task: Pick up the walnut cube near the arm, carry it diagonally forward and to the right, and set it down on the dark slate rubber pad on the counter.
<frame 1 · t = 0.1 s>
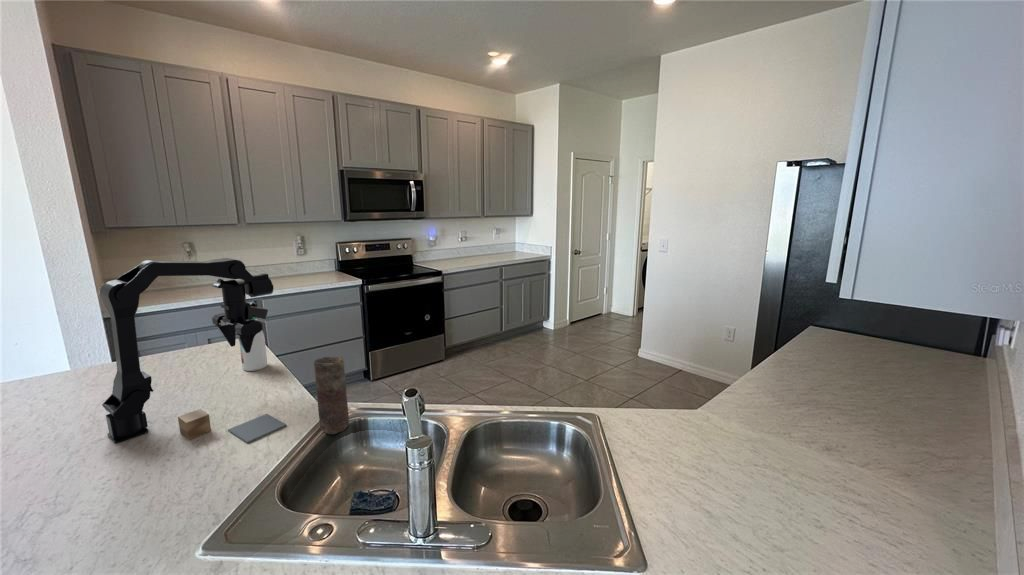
hand: (240, 349, 126), 15 cm above the worktop, fingers open, 9 cm apart
milk bottle: (255, 367, 148), on the worktop
slate pad: (257, 428, 110), on the worktop
candle: (334, 428, 112), on the worktop
walnut cube: (196, 432, 107), on the worktop
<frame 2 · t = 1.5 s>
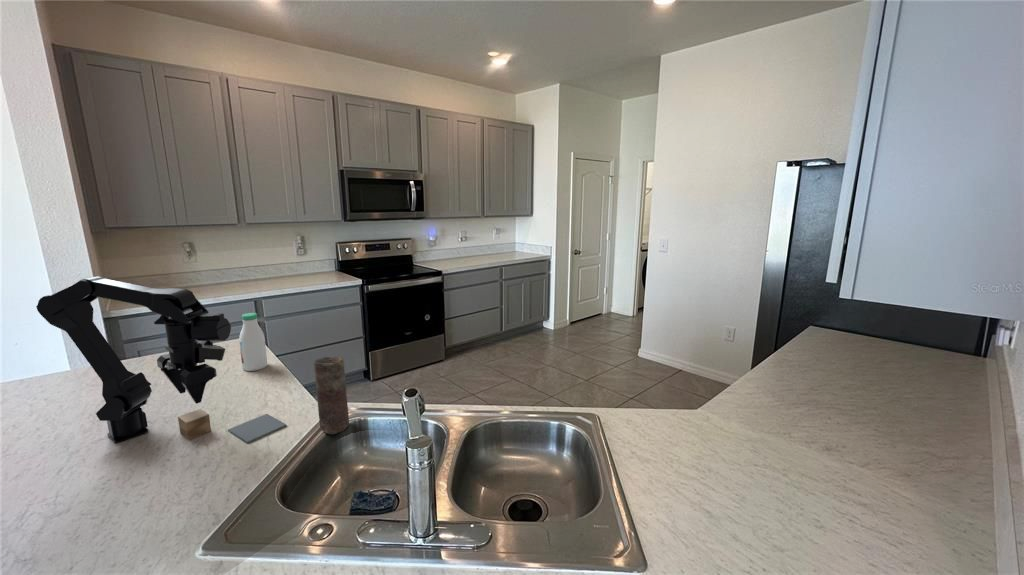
hand: (190, 397, 105), 10 cm above the worktop, fingers open, 9 cm apart
nothing on the worktop moved.
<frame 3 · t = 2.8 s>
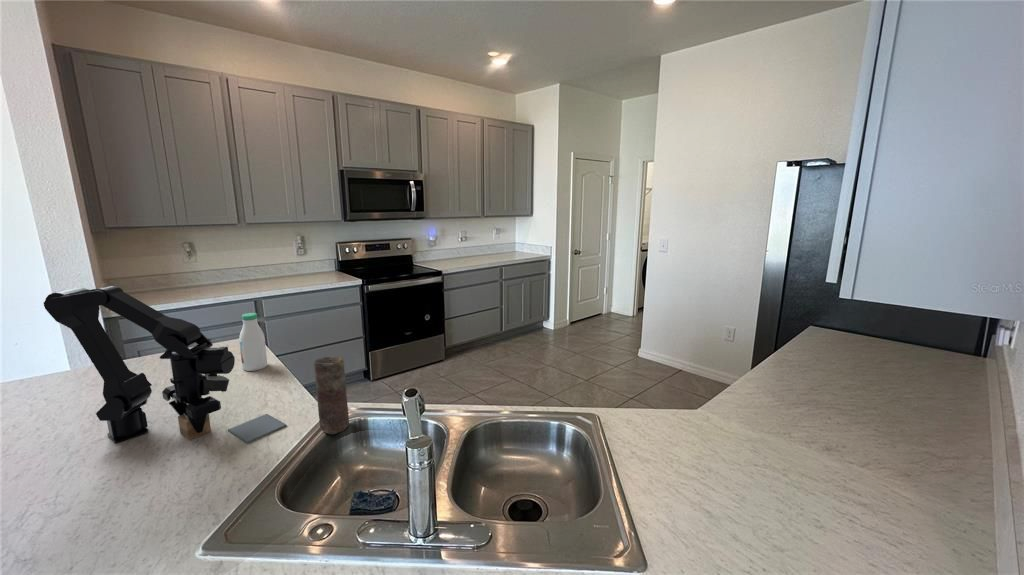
hand: (195, 428, 107), 1 cm above the worktop, fingers closed on walnut cube, 5 cm apart
walnut cube: (195, 432, 107), on the worktop, touching gripper
everything else where it was.
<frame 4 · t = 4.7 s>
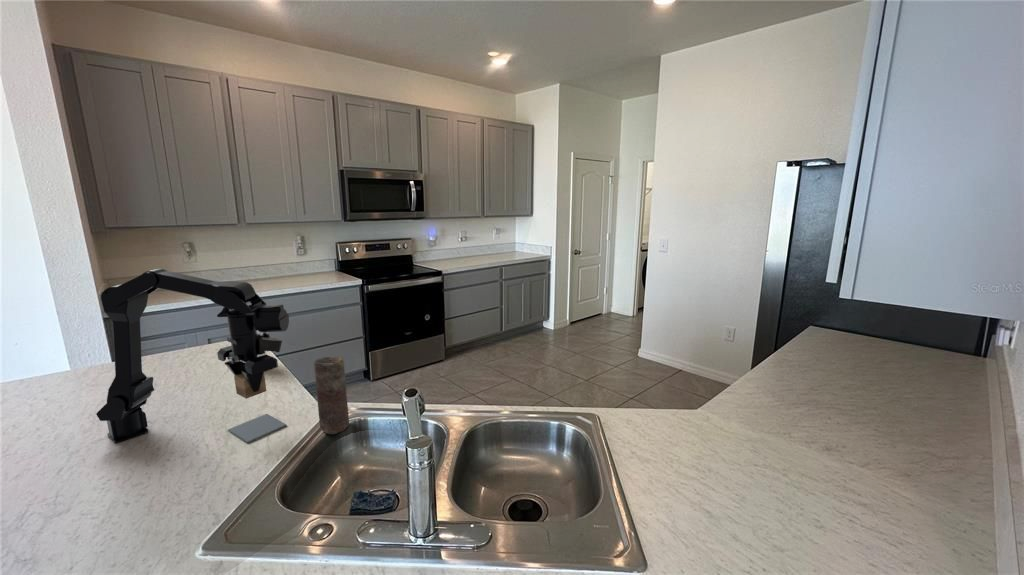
hand: (251, 388, 107), 12 cm above the worktop, fingers closed on walnut cube, 5 cm apart
walnut cube: (251, 392, 108), point 11 cm above the worktop, touching gripper
everything else where it was.
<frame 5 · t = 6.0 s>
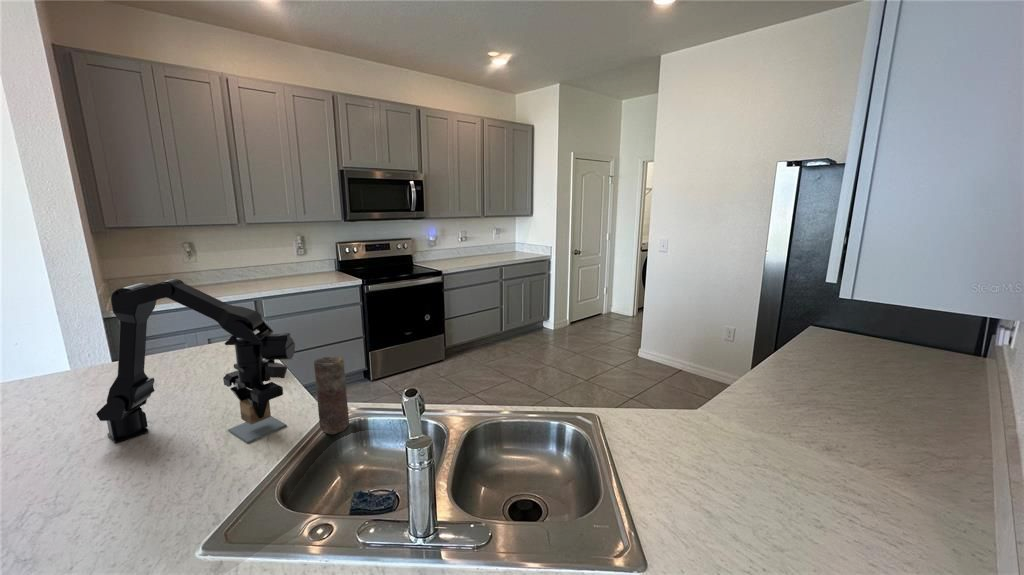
hand: (255, 414, 109), 4 cm above the worktop, fingers closed on walnut cube, 5 cm apart
walnut cube: (256, 417, 109), point 3 cm above the worktop, touching gripper
everything else where it was.
when the fingers open (2 cm above the worktop, at t = 6.8 s): walnut cube stays where it is, resting on slate pad.
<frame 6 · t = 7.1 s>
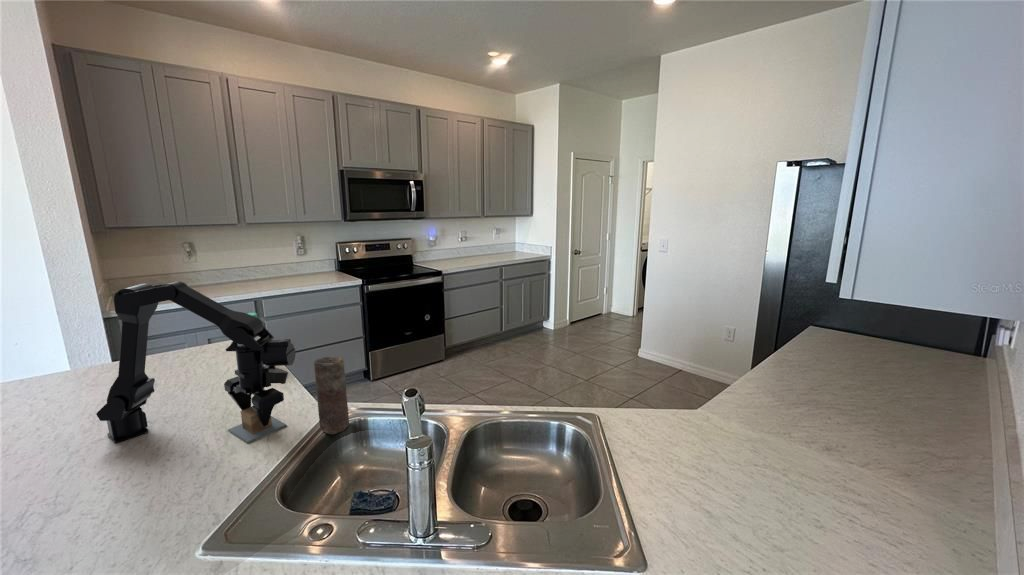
hand: (256, 420, 109), 2 cm above the worktop, fingers open, 9 cm apart
walnut cube: (257, 426, 110), resting on slate pad
everything else where it was.
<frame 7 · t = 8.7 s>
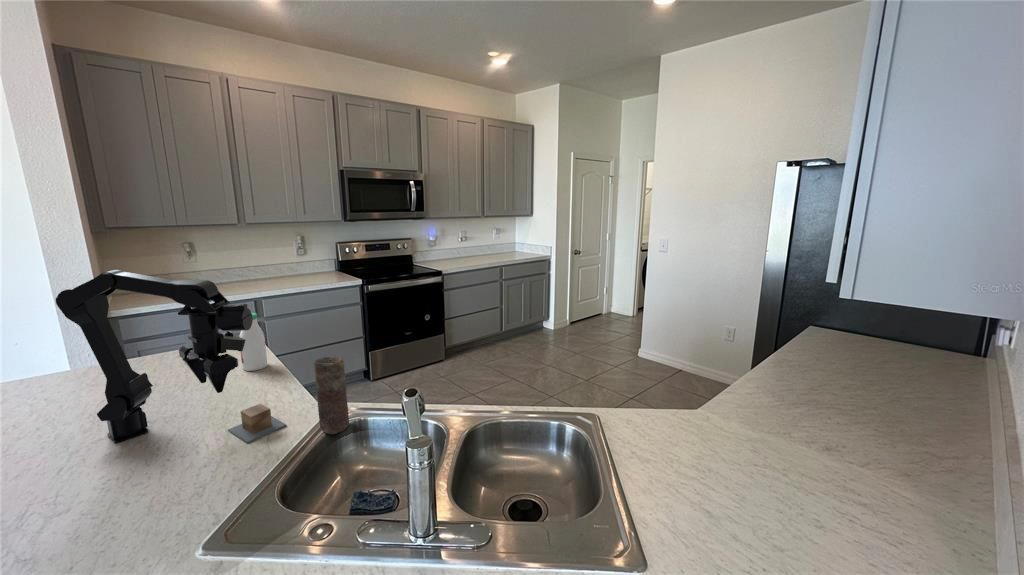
hand: (211, 387, 107), 12 cm above the worktop, fingers open, 9 cm apart
nothing on the worktop moved.
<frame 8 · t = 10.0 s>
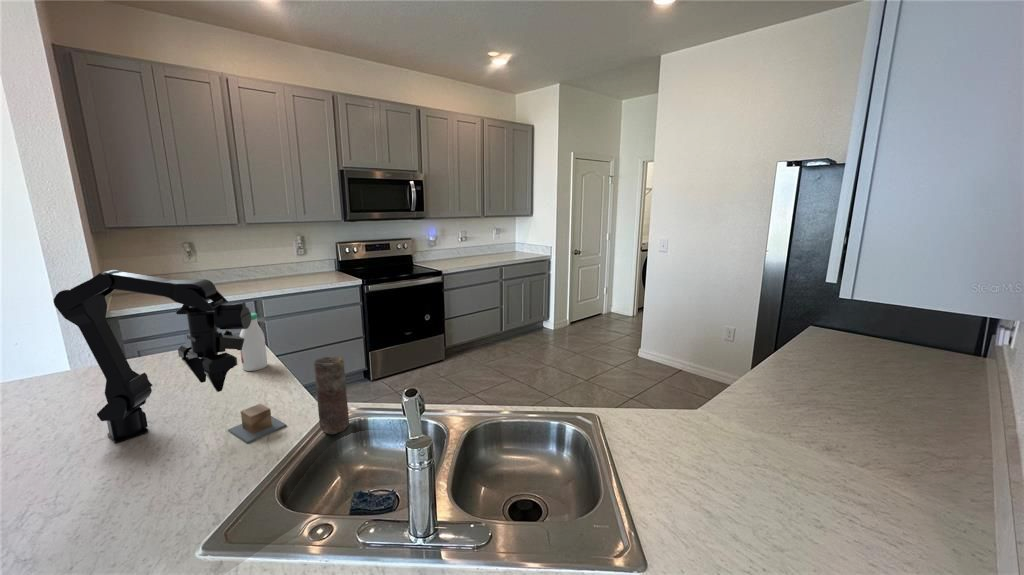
hand: (211, 386, 107), 12 cm above the worktop, fingers open, 9 cm apart
nothing on the worktop moved.
at the end: walnut cube inside the target area on the slate pad (0.0 cm from its centre), point 0.5 cm above the slate pad's base; walnut cube tilted 0°; the gripper is holding nothing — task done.
